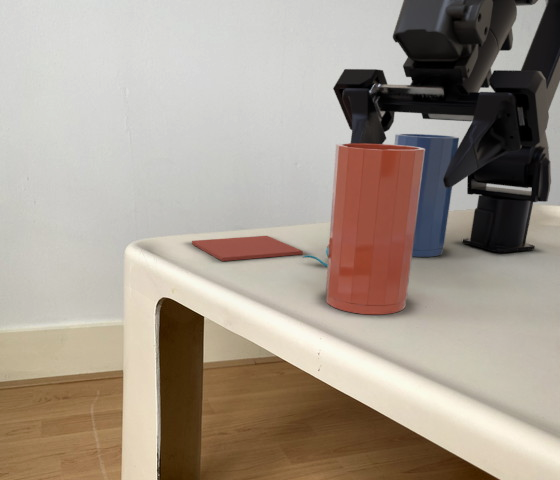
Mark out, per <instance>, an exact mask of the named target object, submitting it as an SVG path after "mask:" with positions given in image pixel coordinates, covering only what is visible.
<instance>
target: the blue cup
mask: <svg viewBox="0 0 560 480" xmlns="http://www.w3.org/2000/svg"><path fill="white" fill-rule="evenodd" d="M393 145H403V146H413V147H420V148H424V149H425V156H424V164H423V172H422V180H421V188H420V196H419V204H418V213H417V221H416V229H415V237H414V245H413V253H412V258H413V257H414V258H433V257H438V256H442V255H443V253H444V246H445V243H446V233H447V228H448V219H449V214H450V213H449V212H450V208H451V207H450V206H451V199H452V193H453V192H452V191H453V186H452V187H451V188H446V187H445V185H444V182H443V178H444V176H445V173H446V171H447V168H448V166H449V163H450V161H451V160H452V158H453V156H454V154H455V152H456V150H457V149H458V147H459V145H460V136H454V135H445V134H444V135H442V134H426V133H395V135H394V143H393Z"/></svg>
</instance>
